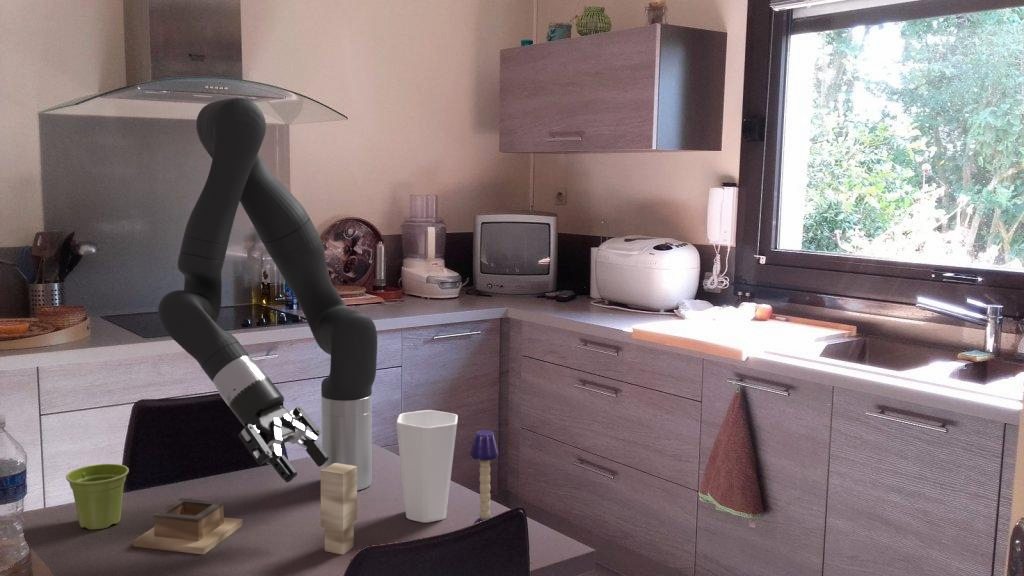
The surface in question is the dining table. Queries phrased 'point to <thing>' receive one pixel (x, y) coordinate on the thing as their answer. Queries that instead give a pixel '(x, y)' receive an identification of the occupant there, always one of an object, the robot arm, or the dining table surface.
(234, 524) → the board
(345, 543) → the leg peg
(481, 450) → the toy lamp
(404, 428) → the cup
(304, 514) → the dining table surface
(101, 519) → the plant pot
